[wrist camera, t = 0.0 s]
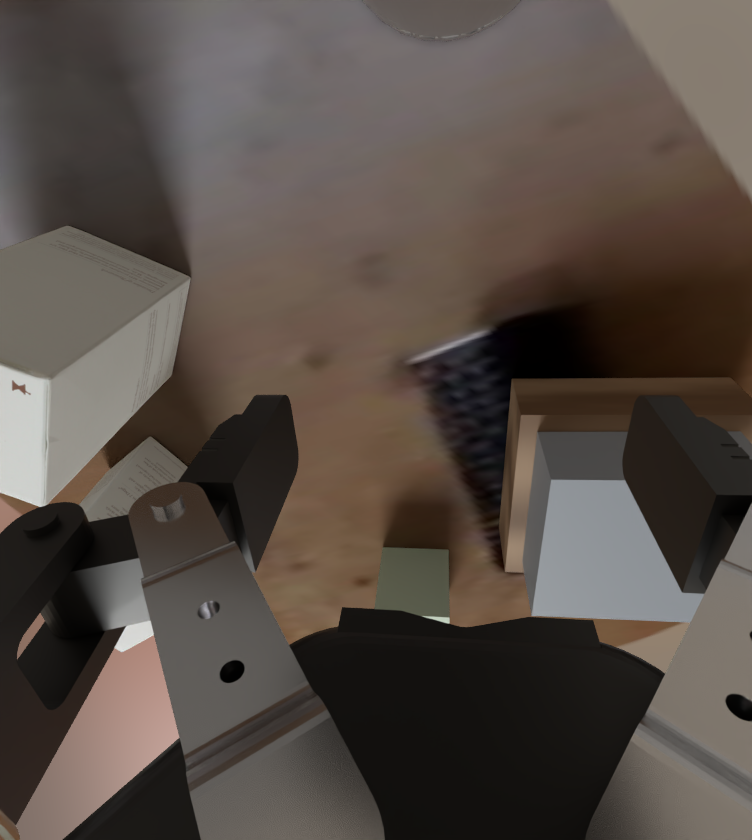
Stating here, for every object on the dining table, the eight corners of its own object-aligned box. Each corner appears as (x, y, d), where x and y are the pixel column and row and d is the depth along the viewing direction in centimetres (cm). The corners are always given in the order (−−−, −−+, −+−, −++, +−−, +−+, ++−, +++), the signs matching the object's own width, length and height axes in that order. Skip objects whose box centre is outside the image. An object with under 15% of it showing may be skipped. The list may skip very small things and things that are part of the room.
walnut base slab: (511, 375, 30) (520, 415, 27) (726, 374, 29) (769, 415, 25) (498, 523, 37) (505, 571, 33) (674, 528, 35) (702, 579, 32)
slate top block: (537, 431, 27) (551, 479, 24) (740, 431, 26) (785, 482, 22) (522, 561, 32) (531, 615, 29) (689, 566, 31) (719, 623, 28)
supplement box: (66, 220, 28) (-163, 295, 17) (195, 276, 29) (52, 380, 18) (58, 333, 32) (-132, 451, 21) (173, 379, 33) (44, 514, 22)
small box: (108, 469, 38) (6, 583, 29) (151, 432, 35) (55, 544, 27) (190, 534, 41) (120, 656, 32) (236, 504, 38) (174, 627, 29)
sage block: (382, 546, 39) (373, 613, 34) (448, 549, 38) (449, 617, 33) (386, 590, 42) (378, 658, 37) (447, 593, 41) (448, 662, 36)
